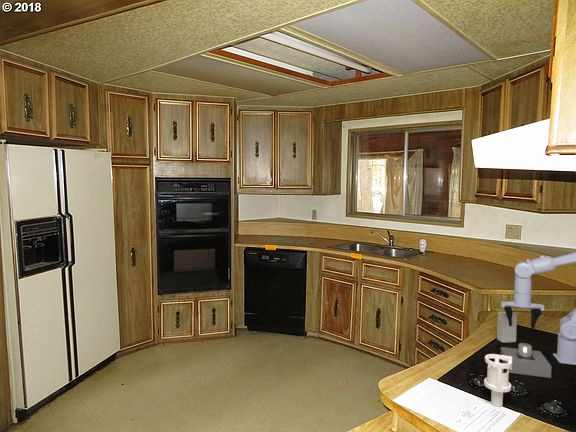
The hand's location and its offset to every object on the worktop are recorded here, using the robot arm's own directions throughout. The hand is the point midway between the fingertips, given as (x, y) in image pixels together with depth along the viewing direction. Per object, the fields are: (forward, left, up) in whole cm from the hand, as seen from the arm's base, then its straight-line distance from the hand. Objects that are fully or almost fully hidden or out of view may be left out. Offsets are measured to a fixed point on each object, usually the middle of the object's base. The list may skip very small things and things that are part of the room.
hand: (521, 326), depth 155 cm
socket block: (+2, +15, -10) cm, 18 cm away
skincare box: (+3, -10, -10) cm, 15 cm away
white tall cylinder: (+16, +45, -10) cm, 49 cm away
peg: (+2, +15, -9) cm, 17 cm away
